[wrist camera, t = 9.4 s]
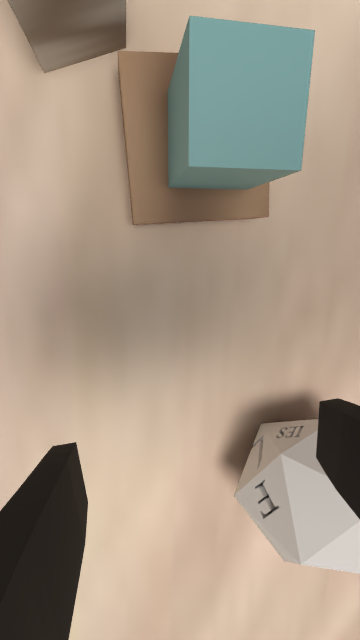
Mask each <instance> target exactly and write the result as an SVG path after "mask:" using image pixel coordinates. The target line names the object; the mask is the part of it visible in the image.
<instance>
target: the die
mask: <svg viewBox="0 0 360 640" xmlns="http://www.w3.org/2000/svg"><path fill="white" fill-rule="evenodd" d="M317 433H318V419H311V420H299V421H287V422H275V423H263V424H261V425H260V428H259V430H258V433H257V436H256V438H255V441H254V444H253V448H252V449H251V451H250V454H249V457H248V459H247V462H246V465H245V467H244V470H243V472H242V475H241V478H240V480H239V483H238V486H237V488H236V491H235V494H234V497H235V498H236V499H237V500H238V502H239V503H240V504H241V506H242V507H243V508H244V510H245V511H246V512H247V513H248V515H249V516H250V517H251V519H252V520H253V521H254V523H255V524H256V525H257V526H258V528H259V529H260V530H261V532H262V533H263V534H264V536H265V537H266V538H267V539H268V541H269V542H270V543H271V545H272V546H273V547H274V549H275V550H276V551H277V552H278V554H279V555H280V556H281V558H282V559H283V560H284V561H287V562H291V563H296V564H300V565H306V566H313V567H319V568H326V569H332V570H339V571H345V572H352V573H358V574H360V519H359V518H358V517H357V516H356V514H355V513H354V512H353V511H352V509H351V508H350V507H349V506H348V504H347V503H346V502H345V500H344V499H343V498H342V497H341V495H340V494H339V493H338V492H337V490H336V489H335V487H334V486H333V484H332V483H331V481H330V480H329V478H328V477H327V475H326V473H325V472H324V470H323V468H322V467H321V465H320V463H319V462H318V460H317V458H316V448H317Z"/></svg>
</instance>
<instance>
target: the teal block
mask: <svg viewBox="0 0 360 640" xmlns="http://www.w3.org/2000/svg"><path fill="white" fill-rule="evenodd" d="M314 35H315V30H308V29H300V28H291V27H282V26H274V25H265V24H257V23H248V22H239V21H231V20H222V19H214V18H205V17H197V16H189V20H188V23H187V26H186V30H185V33H184V37H183V40H182V44H181V47H180V50H179V54H178V57H177V61H176V64H175V67H174V71H173V74H172V78H171V81H170V85H169V88H168V186H169V188H200V189H242V190H247V189H250V188H253V187H256V186H259V185H261V184H264V183H267V182H270V181H273V180H275V179H278V178H281V177H284V176H287V175H289V174H292V173H295V172H298V171H301V166H302V156H303V146H304V136H305V126H306V115H307V105H308V95H309V85H310V75H311V65H312V55H313V45H314Z"/></svg>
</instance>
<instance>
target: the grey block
mask: <svg viewBox="0 0 360 640" xmlns="http://www.w3.org/2000/svg"><path fill="white" fill-rule="evenodd" d="M8 2H9V4H10V6H11V8H12V10H13V12H14V14H15V15H16V17H17V19H18V21H19V23H20V25H21V27H22V29H23V31H24V33H25V35H26V37H27V39H28V41H29V43H30V45H31V47H32V49H33V51H34V53H35V55H36V57H37V59H38V61H39V63H40V65H41V67H42V69H43V71H44V73H47V72H50V71H53V70H56V69H60V68H63V67H66V66H69V65H72V64H76V63H79V62H82V61H85V60H88V59H92V58H95V57H98V56H101V55H104V54H107V53H111V52H114V51H117V50H120V49H123V48H126V0H8Z"/></svg>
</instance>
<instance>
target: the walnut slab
mask: <svg viewBox="0 0 360 640" xmlns="http://www.w3.org/2000/svg"><path fill="white" fill-rule="evenodd" d="M178 54H179V53H163V52H130V51H118V69H119V82H120V93H121V103H122V114H123V124H124V135H125V145H126V156H127V166H128V177H129V187H130V198H131V209H132V219H133V225H140V224H158V223H176V222H195V221H213V220H232V219H250V218H261V217H269V182H267V183H264V184H261V185H259V186H256V187H253V188H250V189H247V190H242V189H200V188H169V186H168V88H169V85H170V81H171V78H172V74H173V71H174V67H175V64H176V61H177V57H178Z"/></svg>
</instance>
